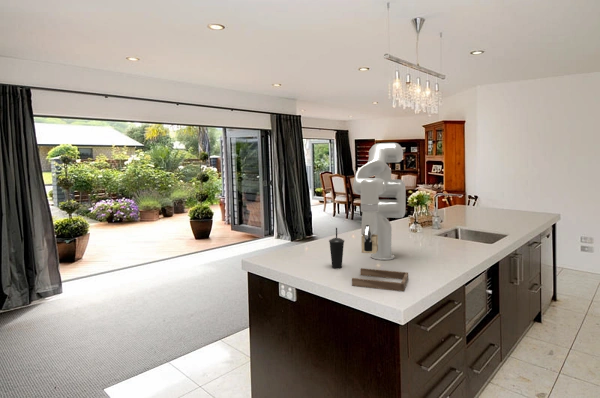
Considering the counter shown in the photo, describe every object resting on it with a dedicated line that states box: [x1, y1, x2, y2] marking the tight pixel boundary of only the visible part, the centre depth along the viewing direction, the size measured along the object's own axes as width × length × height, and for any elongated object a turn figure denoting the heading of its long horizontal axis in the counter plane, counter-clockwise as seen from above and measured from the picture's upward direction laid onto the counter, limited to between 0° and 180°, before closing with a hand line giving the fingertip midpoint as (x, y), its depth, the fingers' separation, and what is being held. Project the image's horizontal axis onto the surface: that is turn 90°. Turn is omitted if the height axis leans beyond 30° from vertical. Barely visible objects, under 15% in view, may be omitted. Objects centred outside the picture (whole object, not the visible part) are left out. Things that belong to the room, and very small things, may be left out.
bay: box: [351, 267, 409, 292], centre depth 156 cm, size 16×21×3 cm
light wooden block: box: [361, 234, 378, 254], centre depth 157 cm, size 6×6×7 cm
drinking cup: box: [328, 227, 345, 270], centre depth 180 cm, size 8×8×20 cm
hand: (369, 248), depth 157 cm, fingers closed on light wooden block, 6 cm apart
